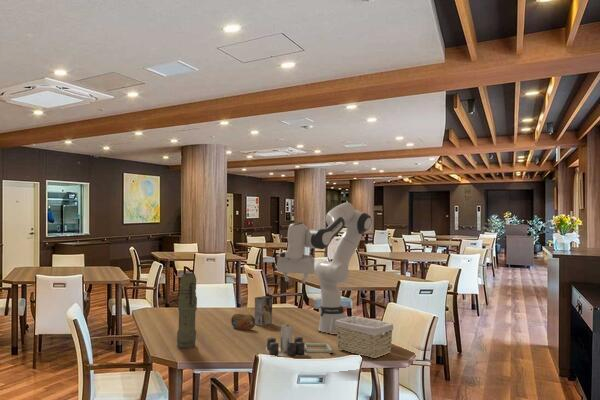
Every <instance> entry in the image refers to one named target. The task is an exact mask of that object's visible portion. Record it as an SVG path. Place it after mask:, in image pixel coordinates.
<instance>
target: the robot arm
mask: <svg viewBox="0 0 600 400" xmlns="http://www.w3.org/2000/svg"><path fill="white" fill-rule="evenodd" d="M325 221H326V224H327V227H326V228H320V229H317V228H316V229H315V228H314V229H313V228H310V227H307V226H306V225H305V224H304V222H300V221H298V222H292V223H290V224H289V226H288V227H287V228H288V229H287V250H286V251H283V252H278V255H277V257H278V258H277V262H276V271H277V273H279V272H280V273H282V275H283V277H284V281H285V282H290V277H289V276H288V273H291V274H302V275H303V278H301V284H303V283H304V284H305V283H306V282H307V281H306V280H307V278H308V276H309V275H313V274H315V275H316V277H317V279H318V282H319V286H320V292H321V297H320V298H321V299H320V300H321V302H320V308H319V309H320V310H319V315H320V318H319V319H320V320H319V325H318V329H317V331H318V330H319V331H322V332H328V333H337V331H336V326H335V323H336V320H338V319H342V318H347V317H349V316H348V315H347V314H346V311H347V308H346V307H344V306H342V305H341V304H342V302H341V301H342V298H341V297H342V292H341V290H340V288H339V286H338V284H339V283H344V282H345V281H347V280H348V279H349V276H350V270H349V265H350V261H351V259H352V257H353V255H354V254H355V252H356V249H357V248H358V246H359V244H360V242H361V239H362V236H363V234H364V233H366V232H367V231H368V230H369V229H370V228H371V226H372V224H373V223H372V221H373V220H372V216H371V215H370V214H368V213H366V212H362V211H360V210H358V209H355V206H354V205H353V204H352V203H351V202H343V203H340V204H338V205H336V206H334V207H333V208H331V209H330V210H329V211H328V212H327V213H326V216H325ZM345 227H346V230H345V231H344V232H343V234H342V235H341V236H340V238H339V240H338V241H337V243H336V244H335V246H334V247H333V250H332V251H333V258H332V260H331V261H328V260H323V261H319V262H318V263H317V264H316V266H315V259H316V258H315V257H314V256H313V255H311V254H305V253H306V251H305V250H306V249H305V248H309V249H317V250H325V249H326V248H328V246H329V245H330V244H331V242H332V241H333V239H334V238H335V237H336V236H337V235H338V234H339V233H340V232H341V231H343V229H344V228H345ZM319 331H318V332H319ZM322 332H321V333H322Z"/></svg>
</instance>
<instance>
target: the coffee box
mask: <svg viewBox="0 0 600 400" xmlns="http://www.w3.org/2000/svg"><path fill="white" fill-rule="evenodd" d="M254 319H255V324H256V325H255V326H260V325H261V327H262V326H263V325H264V326H267V324H268V325H271V323H272V324H273V296H268V295H263V296H262V295H261V296H257V297H254Z"/></svg>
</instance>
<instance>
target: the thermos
mask: <svg viewBox="0 0 600 400" xmlns="http://www.w3.org/2000/svg"><path fill="white" fill-rule="evenodd" d="M196 290H197V277H196V274H195V273H192V272H189V273H187V272H184V273H182V275H181V276H180V283H179V291H180V292H179V297H178V303H177V304H178V308H177V310H178V330H177V334H176V335H177V336H176V342H177V343H176V345H177V346H176V348H178V347H179V348H178V349H184V348H185V349H192V348H191V347H193V348H195V347H196V340H197V331H196V313H197V312H196V311H197V309H198V308H197V307H198V306H197V305H198V297H197V291H196Z"/></svg>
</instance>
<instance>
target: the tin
mask: <svg viewBox="0 0 600 400" xmlns="http://www.w3.org/2000/svg"><path fill="white" fill-rule="evenodd" d="M230 320H231V325H232V327H233V328H234V329H236V328H237V329H236V330H243V329H244V330H243V331H250V330H252V329H254V327H255V326H256V325H255V316H253V315H252V314H244V313H235V314H234V315H232V317H231V319H230Z"/></svg>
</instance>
